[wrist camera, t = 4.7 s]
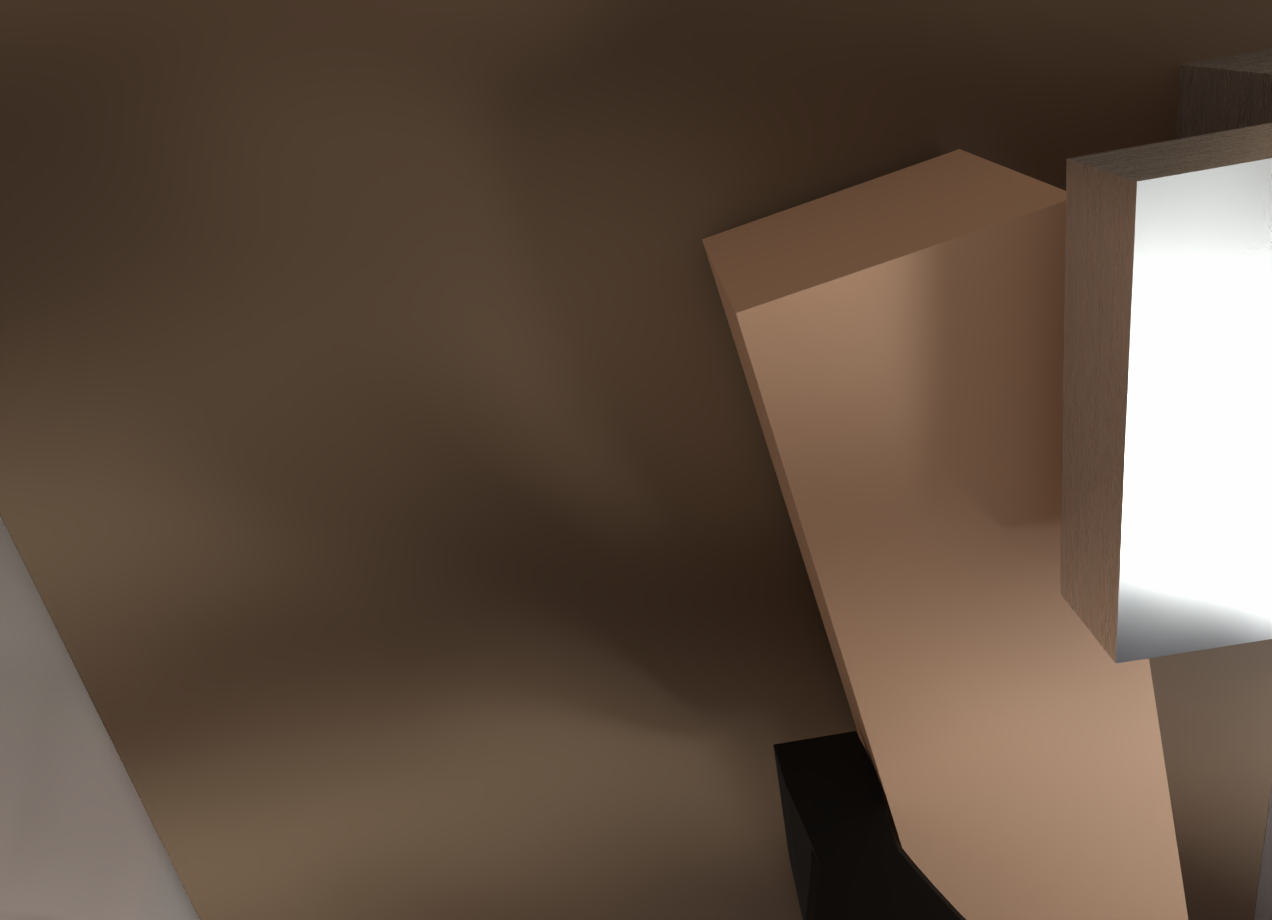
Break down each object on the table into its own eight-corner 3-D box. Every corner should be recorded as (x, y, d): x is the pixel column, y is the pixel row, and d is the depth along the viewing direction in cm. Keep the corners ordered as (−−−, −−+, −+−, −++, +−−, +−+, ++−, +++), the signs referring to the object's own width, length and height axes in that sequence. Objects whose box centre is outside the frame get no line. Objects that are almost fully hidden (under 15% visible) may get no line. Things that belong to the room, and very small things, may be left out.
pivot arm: (1170, 1002, 17) (1316, 1255, 14) (921, 1066, 18) (1001, 1326, 14) (1021, 127, 11) (1219, 183, 8) (643, 259, 11) (666, 369, 8)
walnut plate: (1208, 971, 19) (1240, 1020, 18) (328, 1099, 19) (314, 1154, 18) (1352, -331, 10) (1425, -363, 10) (-202, -36, 11) (-273, -39, 10)
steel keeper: (1295, 375, 13) (1676, 575, 8) (934, 434, 13) (1115, 663, 8) (1335, 37, 11) (1841, 57, 7) (920, 111, 11) (1138, 181, 7)
